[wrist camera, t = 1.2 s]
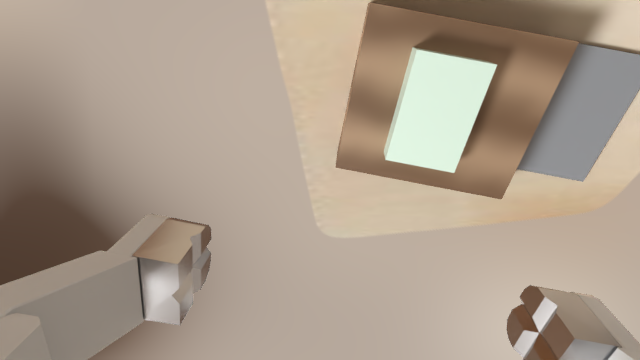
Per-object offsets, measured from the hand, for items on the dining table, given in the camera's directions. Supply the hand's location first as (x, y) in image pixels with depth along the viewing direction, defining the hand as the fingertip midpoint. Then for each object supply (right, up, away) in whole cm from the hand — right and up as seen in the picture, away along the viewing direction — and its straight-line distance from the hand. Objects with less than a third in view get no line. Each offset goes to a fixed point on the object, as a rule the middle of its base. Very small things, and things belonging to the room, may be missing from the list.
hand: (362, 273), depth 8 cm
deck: (+10, +10, +23) cm, 27 cm away
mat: (+22, +9, +22) cm, 33 cm away
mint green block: (+8, +8, +19) cm, 23 cm away
